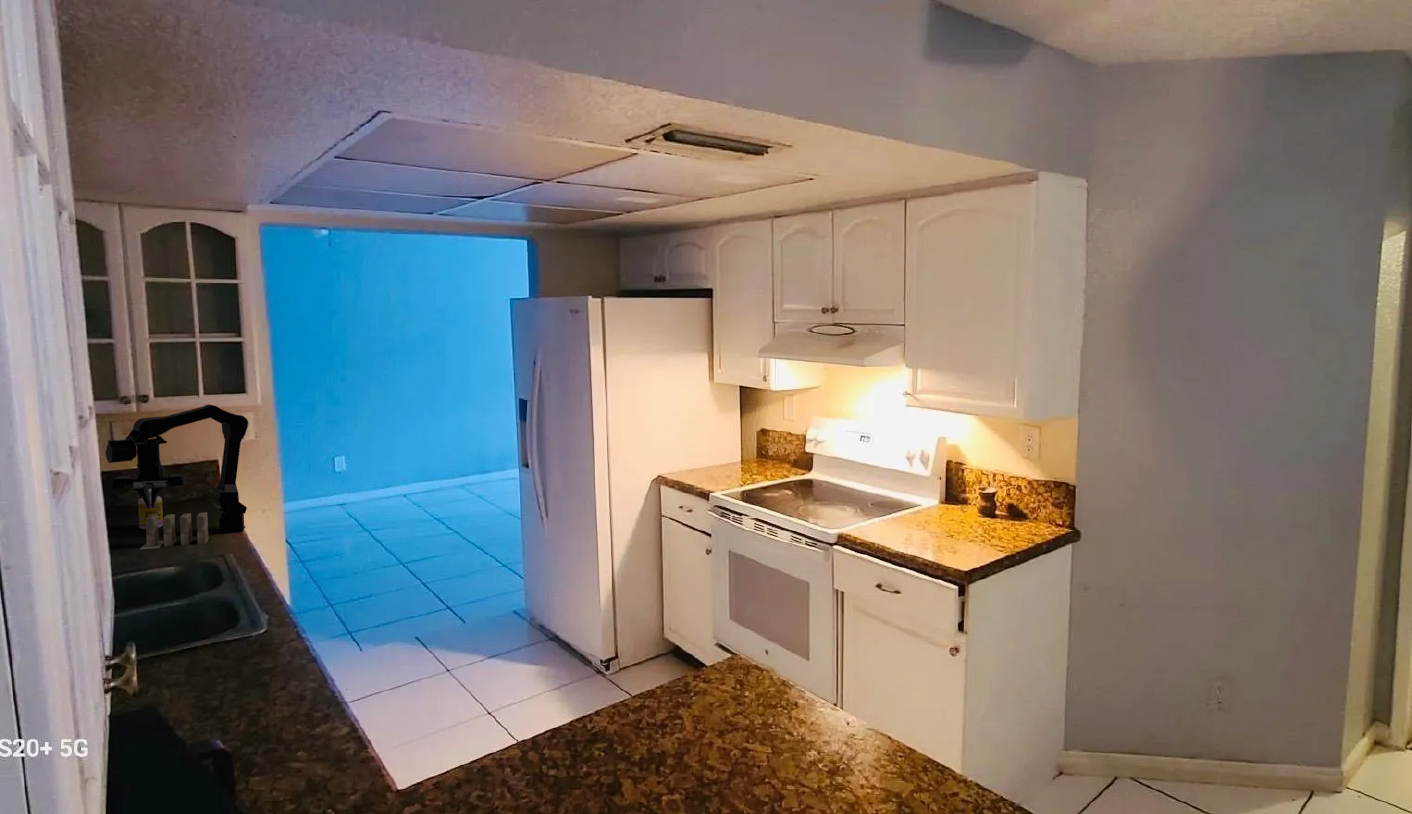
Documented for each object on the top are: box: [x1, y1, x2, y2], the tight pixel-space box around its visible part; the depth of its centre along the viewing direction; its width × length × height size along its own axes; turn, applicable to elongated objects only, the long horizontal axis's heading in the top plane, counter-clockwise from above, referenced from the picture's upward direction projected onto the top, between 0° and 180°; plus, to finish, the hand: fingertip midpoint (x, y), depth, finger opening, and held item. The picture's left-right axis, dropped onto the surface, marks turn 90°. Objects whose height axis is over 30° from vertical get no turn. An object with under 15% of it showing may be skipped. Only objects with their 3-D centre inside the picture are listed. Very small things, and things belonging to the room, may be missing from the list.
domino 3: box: [196, 512, 209, 545], centre depth 251 cm, size 2×5×9 cm, turn 22°
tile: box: [145, 515, 160, 547], centre depth 246 cm, size 2×5×9 cm, turn 23°
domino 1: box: [162, 513, 177, 547], centre depth 248 cm, size 2×5×9 cm, turn 22°
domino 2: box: [179, 512, 193, 546], centre depth 250 cm, size 2×5×9 cm, turn 22°
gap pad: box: [139, 540, 164, 550], centre depth 247 cm, size 5×8×1 cm, turn 22°
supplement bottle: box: [137, 488, 164, 530], centre depth 266 cm, size 7×7×13 cm
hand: (151, 507), depth 245 cm, fingers closed
